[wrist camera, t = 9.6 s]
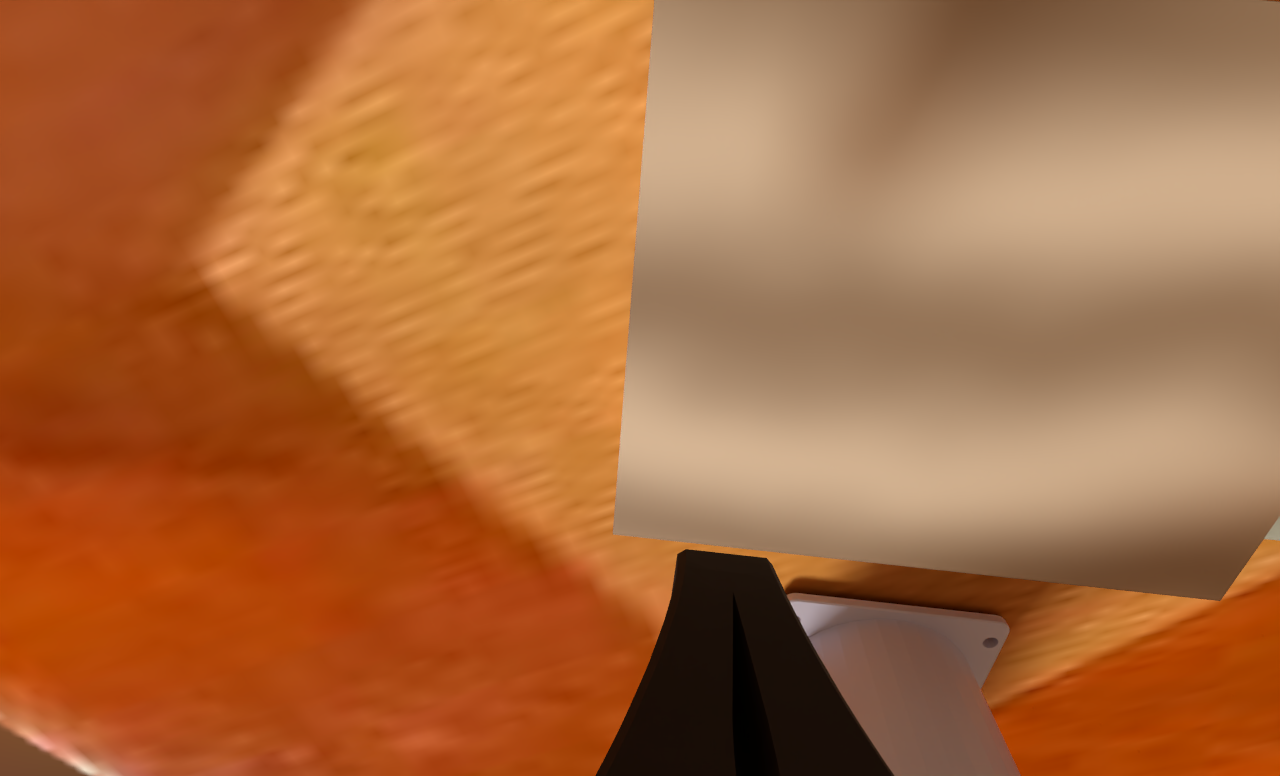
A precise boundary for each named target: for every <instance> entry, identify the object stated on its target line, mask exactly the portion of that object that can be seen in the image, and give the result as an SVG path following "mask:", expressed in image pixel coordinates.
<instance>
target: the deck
mask: <svg viewBox="0 0 1280 776" xmlns="http://www.w3.org/2000/svg"><path fill="white" fill-rule="evenodd" d="M1279 516H1280V2H1277V1H1265V0H654V13H653V26H652V39H651V51H650V64H649V77H648V90H647V103H646V116H645V128H644V141H643V154H642V167H641V180H640V193H639V205H638V218H637V231H636V244H635V257H634V270H633V283H632V295H631V308H630V321H629V334H628V347H627V360H626V372H625V385H624V398H623V411H622V424H621V437H620V449H619V462H618V475H617V488H616V501H615V514H614V526H613V534H615V535H624V536H633V537H642V538H651V539H660V540H670V541H679V542H688V543H697V544H706V545H715V546H724V547H733V548H742V549H752V550H761V551H770V552H779V553H788V554H797V555H806V556H815V557H824V558H834V559H843V560H852V561H861V562H870V563H879V564H888V565H897V566H906V567H916V568H925V569H934V570H943V571H952V572H961V573H970V574H979V575H988V576H998V577H1007V578H1016V579H1025V580H1034V581H1043V582H1052V583H1061V584H1070V585H1080V586H1089V587H1098V588H1107V589H1116V590H1125V591H1134V592H1143V593H1152V594H1162V595H1171V596H1180V597H1189V598H1198V599H1207V600H1216V601H1220V600H1221V599H1222V598H1223V596H1224V595H1225V593H1226V592H1227V590H1228V589H1229V588H1230V586H1231V585H1232V583H1233V582H1234V580H1235V579H1236V578H1237V576H1238V575H1239V573H1240V572H1241V571H1242V569H1243V568H1244V566H1245V565H1246V563H1247V562H1248V561H1249V559H1250V558H1251V556H1252V555H1253V553H1254V552H1255V551H1256V549H1257V548H1258V546H1259V545H1260V543H1261V542H1262V541H1263V539H1264V538H1265V536H1266V535H1267V534H1268V532H1269V531H1270V529H1271V528H1272V526H1273V525H1274V524H1275V522H1276V521H1277V519H1278V518H1279Z"/></svg>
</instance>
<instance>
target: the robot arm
mask: <svg viewBox="0 0 1280 776" xmlns="http://www.w3.org/2000/svg"><path fill="white" fill-rule="evenodd" d="M1009 631H1010V629H1009V626H1008V624H1007V623H1006V621H1005V619H1004V618H1002V617H1001V616H998V615H991V614H982V613H973V612H964V611H955V610H946V609H937V608H928V607H919V606H910V605H901V604H892V603H883V602H874V601H865V600H856V599H847V598H838V597H829V596H820V595H811V594H802V593H791V594H788V595H786V593H785V591H784V589H783V587H782V585H781V583H780V581H779V579H778V576H777V574H776V572H775V570H774V568H773V565H772V564H771V563H770V562H769V560H768V559H767V558H760V557H751V556H742V555H733V554H724V553H715V552H706V551H697V550H688V549H686V550H684V551H682V552H681V553H679V554H677V561H676V568H675V575H674V582H673V589H672V596H671V600H670V603H669V607H668V610H667V614H666V617H665V620H664V623H663V626H662V629H661V632H660V634H659V637H658V640H657V642H656V645H655V648H654V651H653V653H652V656H651V659H650V662H649V664H648V666H647V669H646V671H645V674H644V676H643V678H642V680H641V683H640V685H639V687H638V689H637V692H636V694H635V696H634V698H633V701H632V703H631V705H630V707H629V709H628V712H627V714H626V716H625V718H624V721H623V723H622V725H621V727H620V729H619V731H618V733H617V735H616V737H615V739H614V741H613V743H612V745H611V747H610V749H609V751H608V753H607V755H606V757H605V759H604V761H603V763H602V764H601V766H600V768H599V770H598V772H597V774H596V776H1021V775H1020V773H1019V771H1018V769H1017V766H1016V764H1015V762H1014V760H1013V758H1012V756H1011V754H1010V751H1009V749H1008V747H1007V745H1006V743H1005V741H1004V739H1003V736H1002V734H1001V732H1000V730H999V728H998V726H997V724H996V721H995V719H994V717H993V715H992V713H991V711H990V709H989V706H988V704H987V702H986V700H985V698H984V696H983V694H982V691H981V688H982V686H983V684H984V682H985V680H986V678H987V676H988V674H989V672H990V670H991V668H992V666H993V664H994V662H995V660H996V658H997V656H998V654H999V652H1000V650H1001V648H1002V646H1003V644H1004V642H1005V640H1006V638H1007V636H1008V634H1009ZM987 638H988V639H987Z"/></svg>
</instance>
